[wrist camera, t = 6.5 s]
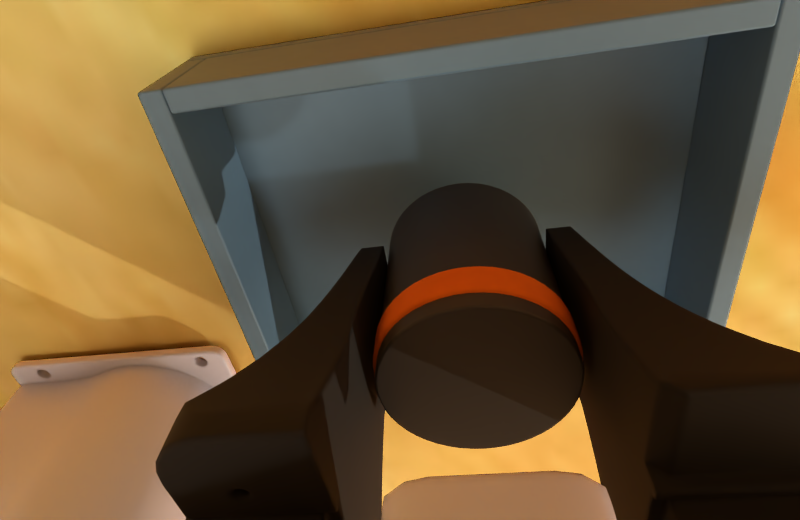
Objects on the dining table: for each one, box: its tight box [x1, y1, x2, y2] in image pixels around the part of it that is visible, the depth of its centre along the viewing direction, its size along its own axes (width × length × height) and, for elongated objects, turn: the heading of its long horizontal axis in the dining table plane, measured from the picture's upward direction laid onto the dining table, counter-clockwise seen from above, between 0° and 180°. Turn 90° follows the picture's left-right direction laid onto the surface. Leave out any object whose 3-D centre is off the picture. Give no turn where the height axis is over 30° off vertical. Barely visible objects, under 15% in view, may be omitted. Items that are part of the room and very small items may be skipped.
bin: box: [138, 0, 800, 360], centre depth 15 cm, size 14×11×3 cm
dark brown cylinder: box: [373, 183, 584, 449], centre depth 12 cm, size 4×4×5 cm
